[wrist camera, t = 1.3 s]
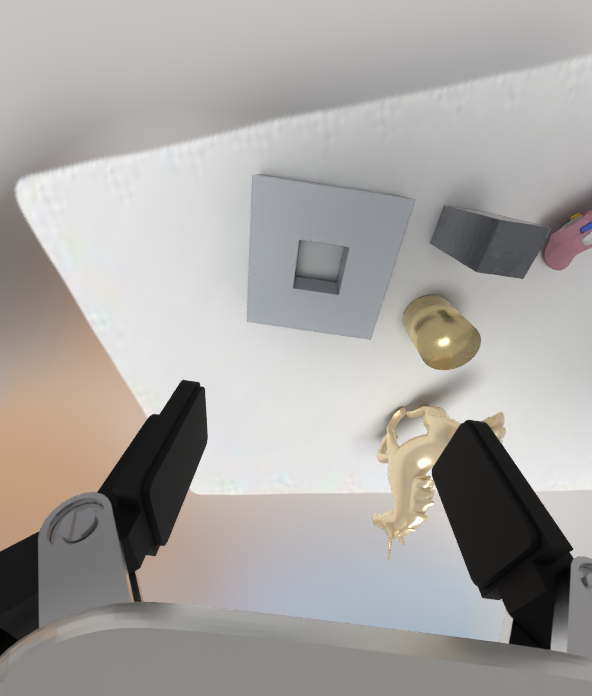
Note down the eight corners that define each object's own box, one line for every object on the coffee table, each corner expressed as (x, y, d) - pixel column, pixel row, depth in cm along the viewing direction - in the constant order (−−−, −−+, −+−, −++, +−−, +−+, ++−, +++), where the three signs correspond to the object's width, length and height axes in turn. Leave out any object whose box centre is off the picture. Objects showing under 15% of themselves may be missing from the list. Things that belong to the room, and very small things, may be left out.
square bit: (480, 210, 28) (552, 227, 19) (463, 248, 30) (523, 278, 21) (444, 205, 28) (501, 219, 19) (430, 243, 29) (476, 271, 21)
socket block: (402, 196, 27) (415, 199, 24) (365, 323, 35) (370, 339, 31) (260, 174, 27) (252, 175, 24) (253, 307, 35) (246, 321, 31)
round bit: (459, 298, 32) (491, 326, 27) (440, 339, 35) (465, 373, 30) (412, 291, 32) (433, 318, 26) (396, 333, 35) (412, 366, 29)
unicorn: (459, 360, 37) (552, 482, 22) (477, 376, 38) (576, 502, 24) (351, 436, 46) (367, 558, 31) (368, 447, 47) (391, 570, 32)
